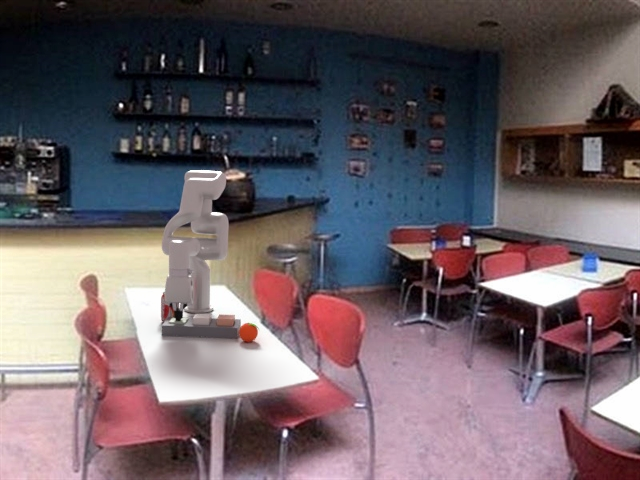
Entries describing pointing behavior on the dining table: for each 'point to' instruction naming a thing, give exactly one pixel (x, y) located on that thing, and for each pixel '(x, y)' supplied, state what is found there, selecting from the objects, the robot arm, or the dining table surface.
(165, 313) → the soda can
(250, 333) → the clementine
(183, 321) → the key sage
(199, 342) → the dining table surface
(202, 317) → the key offwhite
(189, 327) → the keypad console
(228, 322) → the key terracotta
